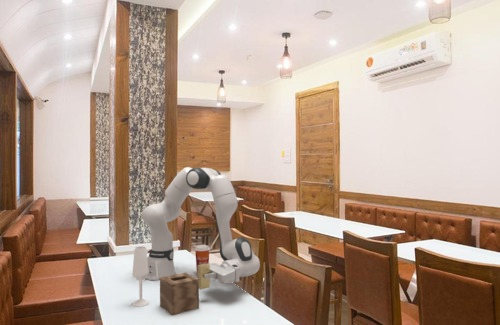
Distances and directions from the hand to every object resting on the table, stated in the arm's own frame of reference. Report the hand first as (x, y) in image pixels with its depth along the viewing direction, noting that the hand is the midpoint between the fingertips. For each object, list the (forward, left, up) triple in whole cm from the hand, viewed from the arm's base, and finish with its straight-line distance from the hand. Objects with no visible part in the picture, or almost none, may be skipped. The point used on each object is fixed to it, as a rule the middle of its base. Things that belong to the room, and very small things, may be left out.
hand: (201, 275), depth 164 cm
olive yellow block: (0, +1, -6) cm, 6 cm away
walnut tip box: (-6, -9, -11) cm, 16 cm away
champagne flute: (-24, -10, -11) cm, 29 cm away
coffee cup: (-17, +36, -11) cm, 41 cm away
